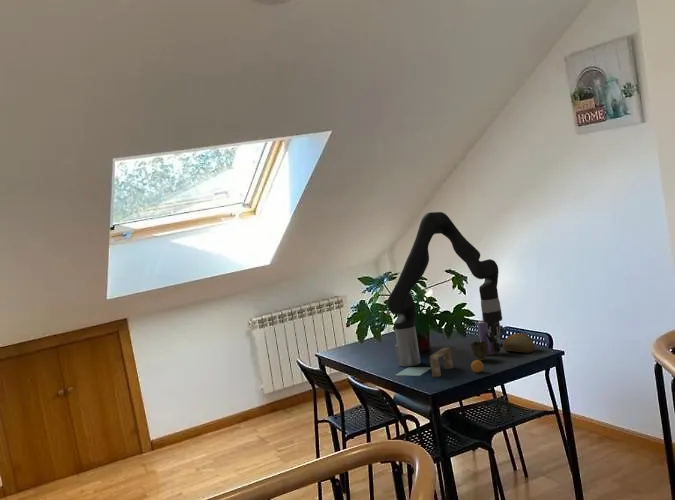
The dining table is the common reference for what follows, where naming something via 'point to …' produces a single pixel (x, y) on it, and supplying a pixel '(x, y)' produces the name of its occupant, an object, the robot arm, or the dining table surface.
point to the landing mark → (413, 371)
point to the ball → (477, 366)
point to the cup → (480, 350)
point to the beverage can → (482, 334)
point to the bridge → (435, 361)
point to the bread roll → (518, 343)
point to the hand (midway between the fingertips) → (497, 351)
